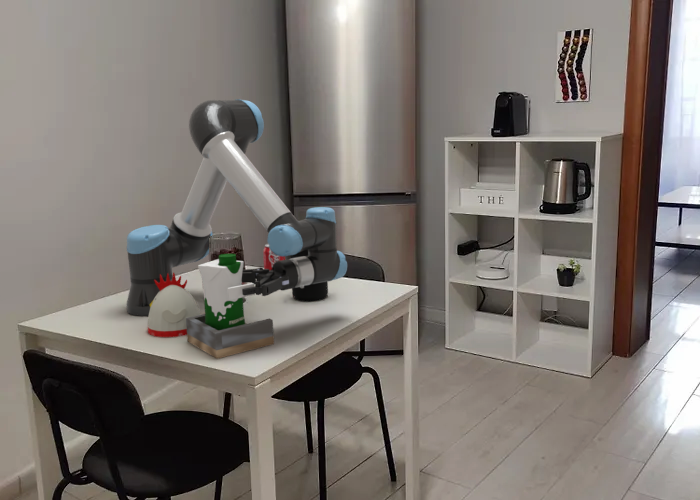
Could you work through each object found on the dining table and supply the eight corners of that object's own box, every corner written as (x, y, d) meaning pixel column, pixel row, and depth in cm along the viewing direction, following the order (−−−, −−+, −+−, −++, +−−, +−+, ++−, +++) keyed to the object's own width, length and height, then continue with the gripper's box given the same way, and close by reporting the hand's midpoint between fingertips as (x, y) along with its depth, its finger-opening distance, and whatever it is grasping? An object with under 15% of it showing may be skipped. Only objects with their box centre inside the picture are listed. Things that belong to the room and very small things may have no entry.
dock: (187, 341, 170) (185, 318, 168) (241, 328, 178) (240, 306, 177) (217, 358, 157) (215, 333, 156) (274, 343, 166) (272, 319, 165)
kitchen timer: (148, 324, 185) (143, 269, 182) (200, 318, 189) (196, 264, 186) (148, 340, 172) (142, 281, 169) (204, 333, 175) (200, 276, 172)
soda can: (290, 279, 228) (288, 244, 225) (274, 284, 223) (272, 247, 220) (276, 276, 232) (274, 241, 230) (260, 281, 227) (258, 245, 225)
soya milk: (228, 343, 161) (222, 259, 157) (199, 338, 165) (192, 256, 161) (251, 332, 168) (246, 252, 164) (223, 327, 173) (217, 249, 169)
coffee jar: (327, 301, 201) (324, 240, 197) (290, 302, 201) (287, 241, 197) (329, 291, 211) (326, 234, 208) (294, 292, 212) (291, 234, 208)
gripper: (320, 297, 166) (241, 315, 154) (267, 279, 186) (194, 293, 174) (318, 267, 165) (239, 282, 152) (266, 252, 184) (192, 264, 172)
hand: (215, 288), depth 163 cm, fingers open, 13 cm apart
